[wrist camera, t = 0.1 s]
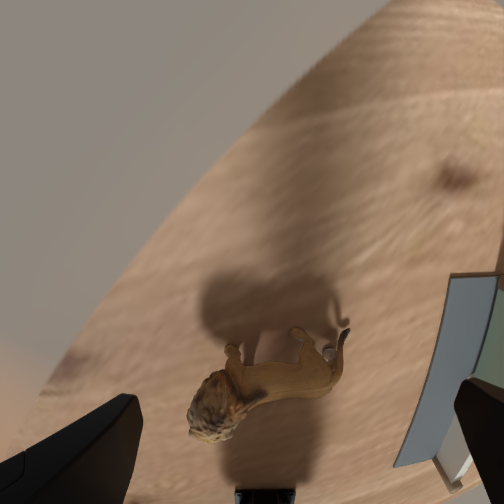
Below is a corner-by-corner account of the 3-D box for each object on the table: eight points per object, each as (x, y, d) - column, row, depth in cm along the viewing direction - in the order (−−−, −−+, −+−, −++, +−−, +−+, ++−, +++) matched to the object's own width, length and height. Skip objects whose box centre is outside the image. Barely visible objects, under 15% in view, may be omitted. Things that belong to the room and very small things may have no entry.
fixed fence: (440, 457, 27) (459, 491, 21) (429, 461, 27) (447, 495, 21) (471, 391, 25) (500, 425, 19) (460, 394, 25) (488, 429, 19)
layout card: (515, 426, 27) (516, 428, 26) (392, 466, 27) (393, 468, 26) (570, 270, 22) (572, 271, 21) (449, 277, 22) (451, 279, 21)
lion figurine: (213, 396, 24) (201, 462, 17) (188, 355, 23) (166, 418, 16) (354, 347, 23) (386, 406, 16) (339, 299, 22) (373, 351, 15)
